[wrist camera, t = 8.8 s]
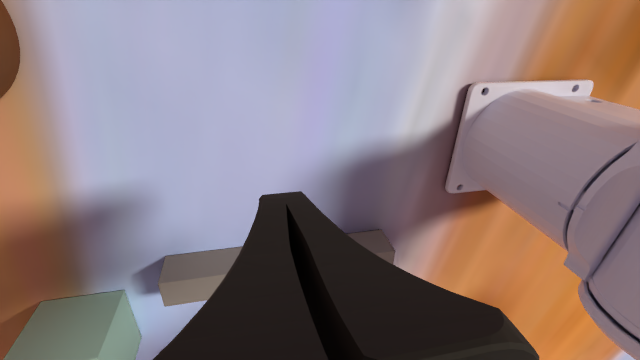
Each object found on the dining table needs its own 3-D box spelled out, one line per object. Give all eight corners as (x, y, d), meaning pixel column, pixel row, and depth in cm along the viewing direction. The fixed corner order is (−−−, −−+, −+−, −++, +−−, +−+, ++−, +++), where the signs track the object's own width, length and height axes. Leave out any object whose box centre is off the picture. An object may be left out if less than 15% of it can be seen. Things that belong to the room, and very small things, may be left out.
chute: (381, 229, 25) (395, 250, 23) (369, 317, 30) (379, 342, 28) (165, 256, 22) (157, 283, 20) (190, 349, 27) (186, 380, 25)
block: (124, 290, 22) (97, 357, 18) (141, 337, 25) (121, 406, 21) (41, 301, 21) (-8, 376, 17) (67, 349, 24) (30, 425, 20)
